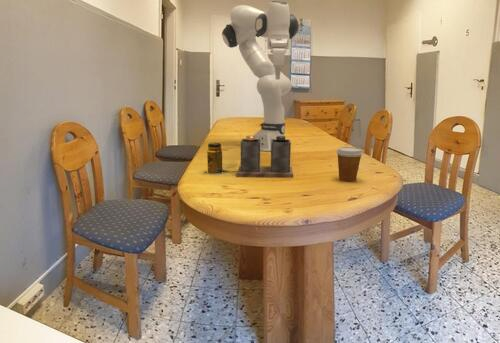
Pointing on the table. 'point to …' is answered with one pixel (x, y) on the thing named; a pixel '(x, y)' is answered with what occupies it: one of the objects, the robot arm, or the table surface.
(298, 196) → the table surface
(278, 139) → the plunger right
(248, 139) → the plunger left
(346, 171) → the disposable coffee cup
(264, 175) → the stand
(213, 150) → the condiment
